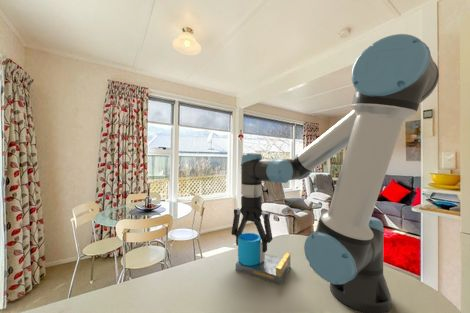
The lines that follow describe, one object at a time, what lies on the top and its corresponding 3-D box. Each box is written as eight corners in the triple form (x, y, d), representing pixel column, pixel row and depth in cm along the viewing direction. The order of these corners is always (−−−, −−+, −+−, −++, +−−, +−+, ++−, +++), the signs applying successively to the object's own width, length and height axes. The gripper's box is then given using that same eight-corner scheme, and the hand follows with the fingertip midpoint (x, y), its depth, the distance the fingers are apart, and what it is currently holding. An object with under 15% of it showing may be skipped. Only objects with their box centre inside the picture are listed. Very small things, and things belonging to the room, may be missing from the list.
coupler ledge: (290, 266, 74) (290, 252, 74) (280, 285, 63) (280, 269, 63) (250, 255, 82) (250, 243, 82) (235, 270, 71) (235, 256, 71)
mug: (263, 265, 70) (263, 241, 70) (239, 266, 69) (239, 242, 69) (256, 249, 82) (256, 228, 82) (236, 250, 81) (236, 229, 81)
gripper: (282, 196, 73) (282, 259, 73) (231, 191, 84) (231, 247, 83) (275, 200, 67) (275, 269, 67) (221, 194, 77) (221, 254, 77)
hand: (251, 257), depth 75 cm, fingers closed on mug, 8 cm apart
